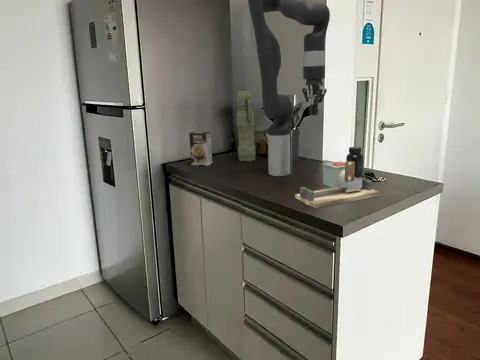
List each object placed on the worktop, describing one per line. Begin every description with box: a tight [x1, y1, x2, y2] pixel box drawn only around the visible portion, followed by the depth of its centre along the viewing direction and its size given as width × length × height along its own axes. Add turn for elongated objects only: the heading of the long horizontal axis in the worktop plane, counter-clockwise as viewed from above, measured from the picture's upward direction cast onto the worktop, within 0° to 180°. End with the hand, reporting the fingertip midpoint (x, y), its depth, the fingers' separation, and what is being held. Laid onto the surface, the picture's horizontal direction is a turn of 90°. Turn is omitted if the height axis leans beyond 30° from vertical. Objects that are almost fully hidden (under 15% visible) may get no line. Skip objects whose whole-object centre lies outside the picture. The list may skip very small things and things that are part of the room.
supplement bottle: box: [345, 146, 365, 178], centre depth 157 cm, size 7×7×12 cm
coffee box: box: [188, 130, 213, 167], centre depth 191 cm, size 9×6×16 cm
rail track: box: [294, 177, 380, 209], centre depth 134 cm, size 12×26×5 cm, turn 112°
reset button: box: [334, 161, 344, 167], centre depth 146 cm, size 4×4×4 cm
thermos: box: [235, 88, 257, 162], centre depth 194 cm, size 9×12×35 cm
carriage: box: [337, 161, 362, 192], centre depth 134 cm, size 6×6×10 cm
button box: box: [322, 160, 346, 188], centre depth 147 cm, size 8×8×8 cm
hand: (313, 114), depth 141 cm, fingers closed
